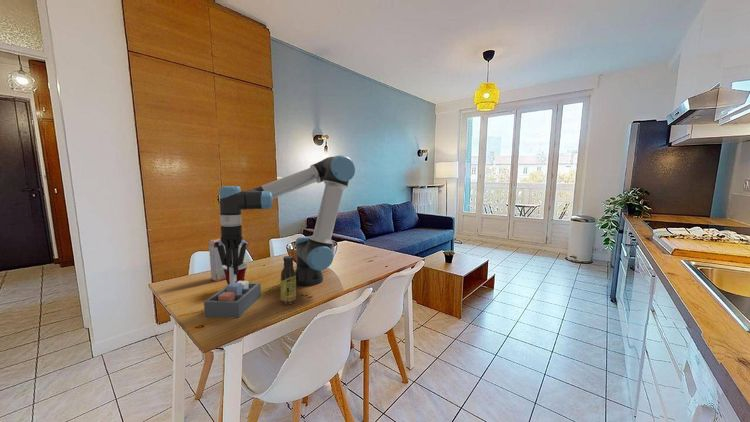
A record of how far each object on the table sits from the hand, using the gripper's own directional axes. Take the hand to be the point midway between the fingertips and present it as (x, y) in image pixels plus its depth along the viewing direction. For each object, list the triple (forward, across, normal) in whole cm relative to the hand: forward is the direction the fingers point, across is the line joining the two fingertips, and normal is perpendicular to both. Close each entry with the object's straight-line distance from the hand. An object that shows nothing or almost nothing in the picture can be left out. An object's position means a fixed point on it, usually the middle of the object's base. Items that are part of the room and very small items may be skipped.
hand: (233, 281), depth 117 cm
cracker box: (+11, -21, +33) cm, 40 cm away
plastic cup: (+10, -8, +17) cm, 21 cm away
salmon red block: (+8, 0, -6) cm, 10 cm away
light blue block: (+6, 0, 0) cm, 6 cm away
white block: (+8, 0, +6) cm, 10 cm away
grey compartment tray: (+10, 0, 0) cm, 10 cm away
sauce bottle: (+10, +21, +4) cm, 24 cm away
